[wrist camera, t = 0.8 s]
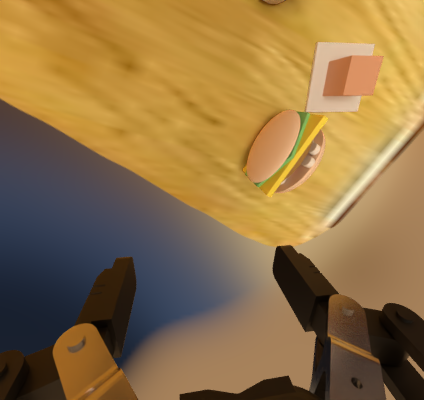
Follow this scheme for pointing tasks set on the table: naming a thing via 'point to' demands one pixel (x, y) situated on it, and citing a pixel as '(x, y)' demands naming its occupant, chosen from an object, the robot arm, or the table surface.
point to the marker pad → (318, 77)
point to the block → (352, 76)
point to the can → (273, 1)
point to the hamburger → (286, 151)
